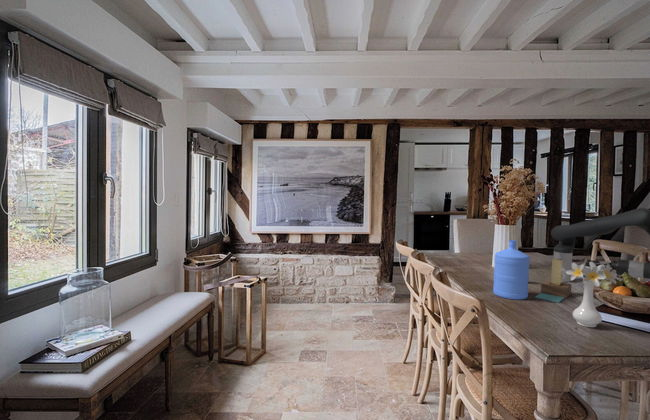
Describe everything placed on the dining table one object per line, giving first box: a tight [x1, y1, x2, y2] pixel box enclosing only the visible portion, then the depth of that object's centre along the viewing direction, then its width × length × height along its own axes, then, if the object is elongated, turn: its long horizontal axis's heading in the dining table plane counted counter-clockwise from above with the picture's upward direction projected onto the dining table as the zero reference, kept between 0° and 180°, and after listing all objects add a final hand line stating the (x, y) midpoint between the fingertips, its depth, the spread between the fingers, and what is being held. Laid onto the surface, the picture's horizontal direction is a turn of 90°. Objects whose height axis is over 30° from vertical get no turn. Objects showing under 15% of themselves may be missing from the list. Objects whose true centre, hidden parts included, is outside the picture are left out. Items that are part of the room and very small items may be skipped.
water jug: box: [492, 239, 531, 301], centre depth 174 cm, size 16×16×28 cm
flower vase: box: [560, 261, 618, 328], centre depth 136 cm, size 13×18×25 cm
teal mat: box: [535, 292, 565, 304], centre depth 171 cm, size 10×10×1 cm
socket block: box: [540, 280, 572, 299], centre depth 179 cm, size 11×11×5 cm
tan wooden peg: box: [550, 257, 563, 286], centre depth 179 cm, size 4×4×18 cm
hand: (586, 263), depth 170 cm, fingers open, 8 cm apart
